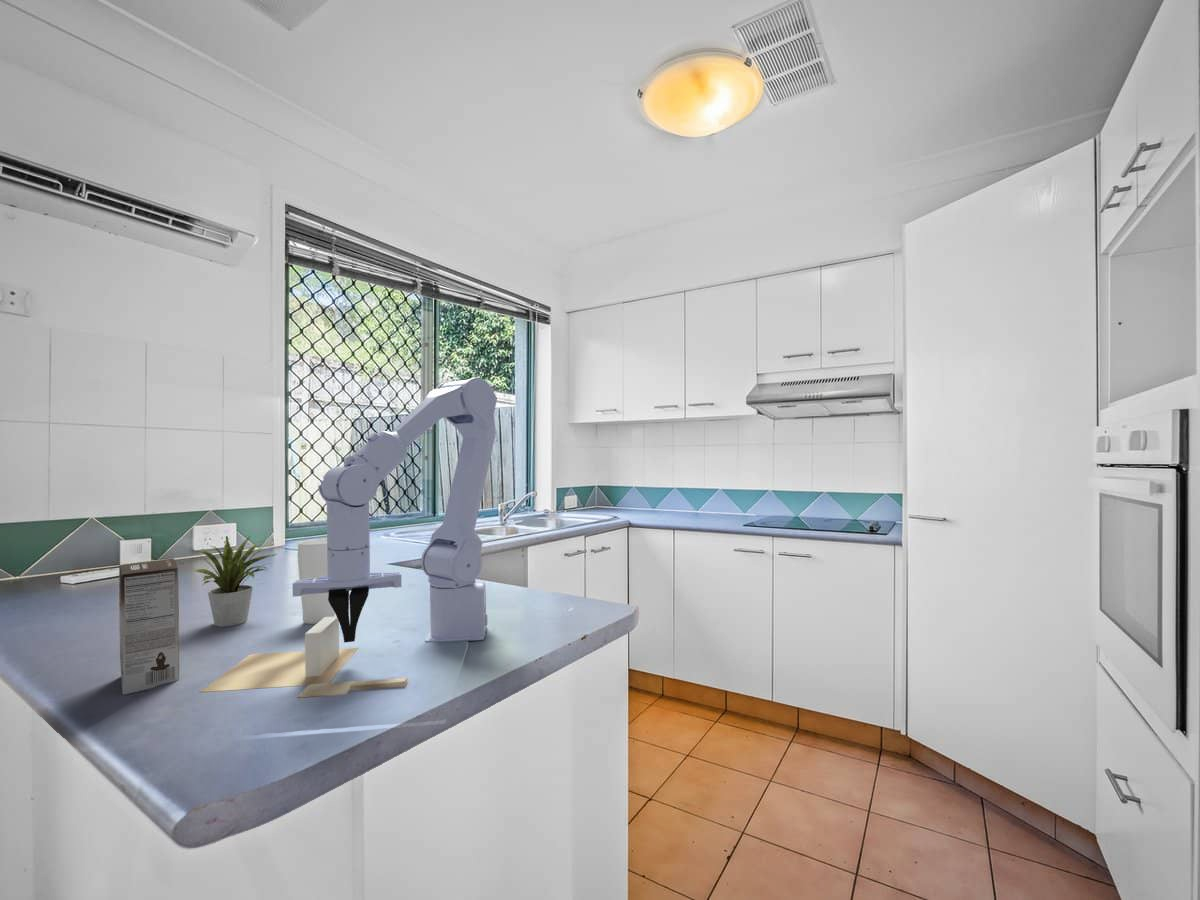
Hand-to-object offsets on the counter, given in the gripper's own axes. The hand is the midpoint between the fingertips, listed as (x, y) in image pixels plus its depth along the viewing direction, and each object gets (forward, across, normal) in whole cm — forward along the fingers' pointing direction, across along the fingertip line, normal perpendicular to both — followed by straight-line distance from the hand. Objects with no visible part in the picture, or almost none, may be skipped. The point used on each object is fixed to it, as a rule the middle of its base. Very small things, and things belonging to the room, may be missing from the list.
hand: (349, 640), depth 83 cm
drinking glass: (+4, +7, -27) cm, 28 cm away
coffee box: (+4, +26, -6) cm, 27 cm away
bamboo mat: (+4, +8, -2) cm, 10 cm away
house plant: (+4, +23, -32) cm, 39 cm away
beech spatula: (+4, -1, +9) cm, 10 cm away
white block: (+3, +4, -1) cm, 5 cm away
